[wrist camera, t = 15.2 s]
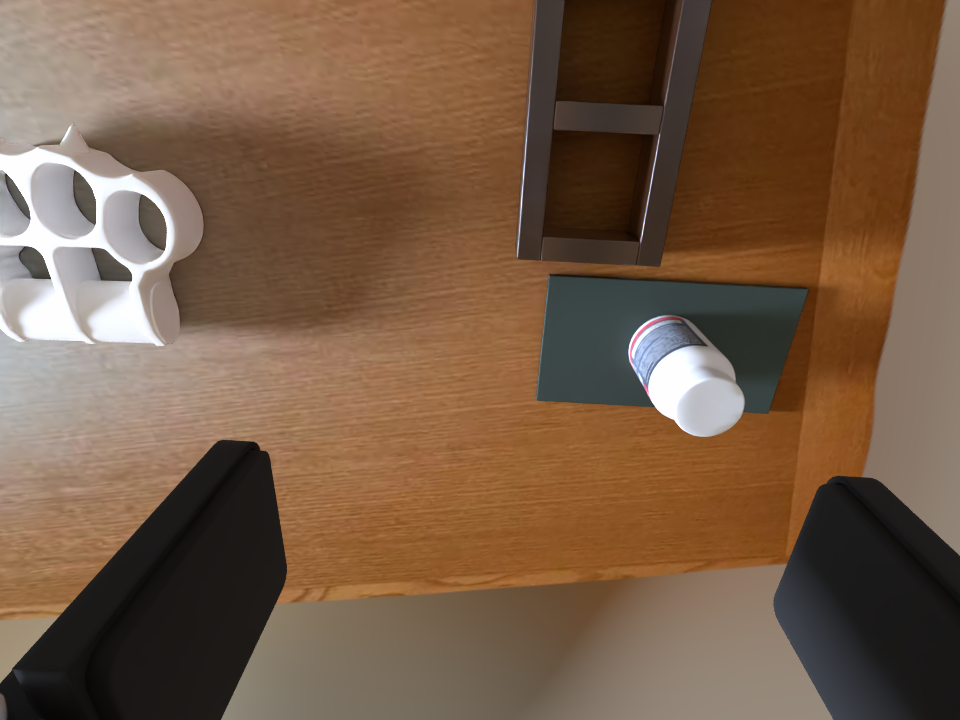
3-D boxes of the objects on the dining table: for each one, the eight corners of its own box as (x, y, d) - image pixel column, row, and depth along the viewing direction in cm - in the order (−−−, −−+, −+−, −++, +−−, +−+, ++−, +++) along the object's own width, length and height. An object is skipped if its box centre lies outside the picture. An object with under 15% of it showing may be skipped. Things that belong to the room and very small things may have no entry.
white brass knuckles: (-2, 328, 39) (-87, 118, 33) (228, 335, 39) (185, 123, 32) (-44, 345, 36) (-147, 117, 30) (205, 353, 36) (152, 123, 29)
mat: (806, 287, 35) (809, 289, 35) (765, 411, 40) (768, 413, 39) (548, 274, 36) (549, 275, 35) (536, 398, 40) (536, 400, 40)
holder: (700, -43, 28) (725, -65, 25) (645, 254, 35) (660, 267, 32) (537, -50, 28) (541, -73, 25) (515, 247, 35) (516, 259, 32)
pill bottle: (613, 358, 38) (643, 421, 30) (656, 300, 36) (701, 351, 28) (670, 390, 39) (714, 459, 31) (715, 335, 37) (776, 394, 29)
